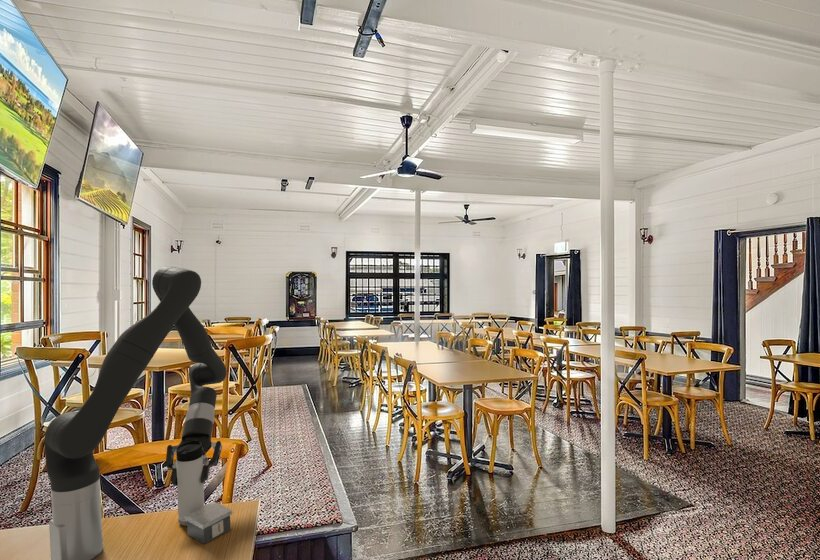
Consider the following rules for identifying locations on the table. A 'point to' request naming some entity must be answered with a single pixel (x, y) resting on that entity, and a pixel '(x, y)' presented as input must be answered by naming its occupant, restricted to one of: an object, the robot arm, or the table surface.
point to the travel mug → (189, 478)
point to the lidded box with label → (208, 522)
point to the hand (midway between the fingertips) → (188, 483)
